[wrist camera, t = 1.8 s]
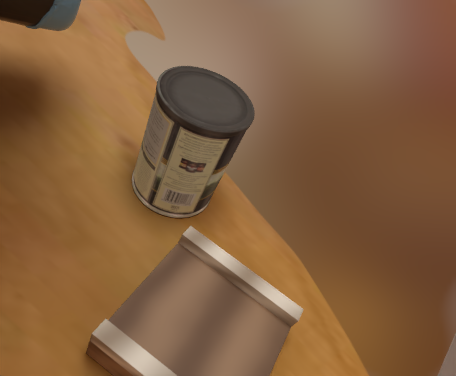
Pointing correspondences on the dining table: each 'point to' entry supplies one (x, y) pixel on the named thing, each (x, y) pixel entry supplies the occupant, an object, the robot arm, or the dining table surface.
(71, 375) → the dining table surface
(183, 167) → the coffee can
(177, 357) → the plinth
